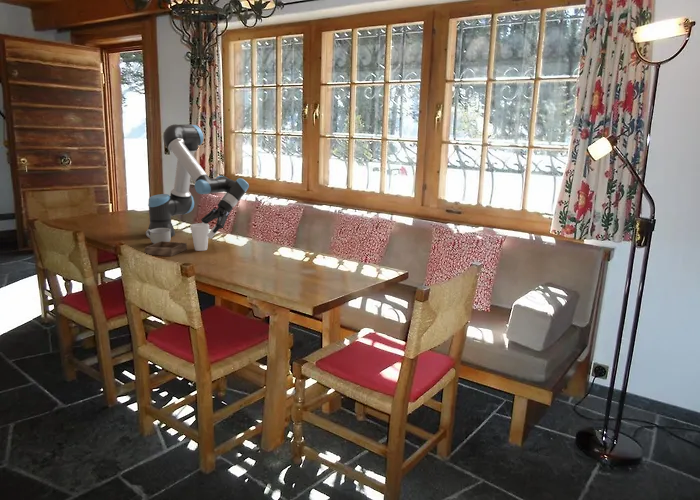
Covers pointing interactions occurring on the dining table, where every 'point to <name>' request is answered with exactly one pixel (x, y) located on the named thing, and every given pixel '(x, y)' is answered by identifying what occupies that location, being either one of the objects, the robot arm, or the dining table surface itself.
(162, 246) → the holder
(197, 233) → the foam cup
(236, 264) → the dining table surface
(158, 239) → the teacup
